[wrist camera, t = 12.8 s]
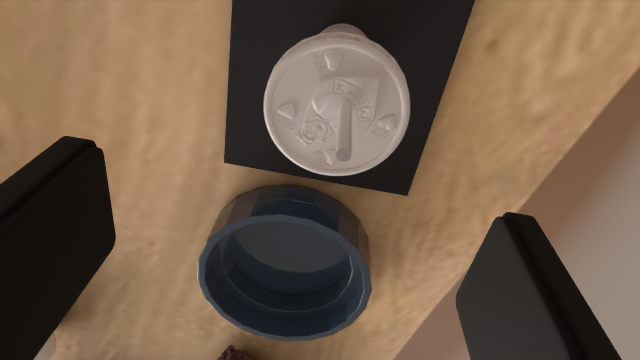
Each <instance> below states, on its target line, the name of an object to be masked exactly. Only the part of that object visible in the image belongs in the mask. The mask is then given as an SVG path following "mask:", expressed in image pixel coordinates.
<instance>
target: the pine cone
mask: <svg viewBox="0 0 640 360" xmlns="http://www.w3.org/2000/svg"><path fill="white" fill-rule="evenodd" d="M218 360H251V358H250V357H249V356H246V355H245V353H244V351H239V350H235V348H234V346H232V345H230V346H228V348H227V349H226V350H225V351H224V352H223V353H222V356H221V357H220V358H219V359H218Z"/></svg>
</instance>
